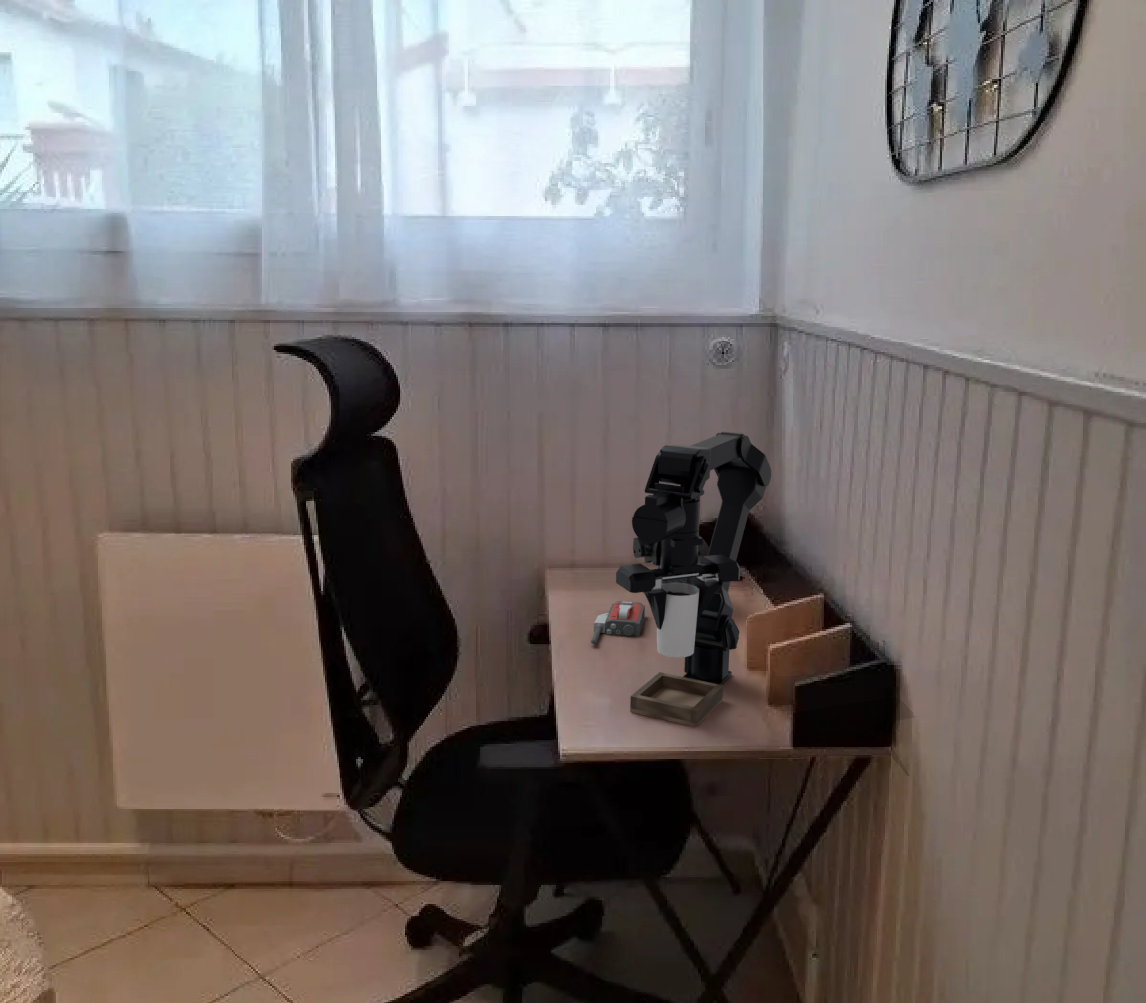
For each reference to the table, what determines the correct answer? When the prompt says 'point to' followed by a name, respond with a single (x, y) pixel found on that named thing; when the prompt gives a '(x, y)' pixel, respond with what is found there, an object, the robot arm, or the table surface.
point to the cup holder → (677, 699)
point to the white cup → (678, 620)
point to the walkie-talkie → (620, 620)
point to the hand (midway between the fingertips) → (676, 626)
